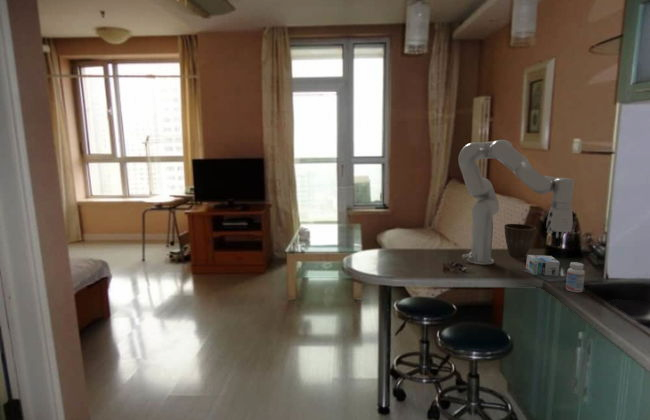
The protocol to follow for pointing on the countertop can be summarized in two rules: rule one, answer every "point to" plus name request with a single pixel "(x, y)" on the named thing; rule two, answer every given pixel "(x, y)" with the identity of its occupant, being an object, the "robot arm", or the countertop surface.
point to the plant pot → (518, 239)
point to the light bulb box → (542, 265)
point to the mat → (548, 277)
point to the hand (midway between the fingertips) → (555, 245)
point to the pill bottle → (575, 277)
